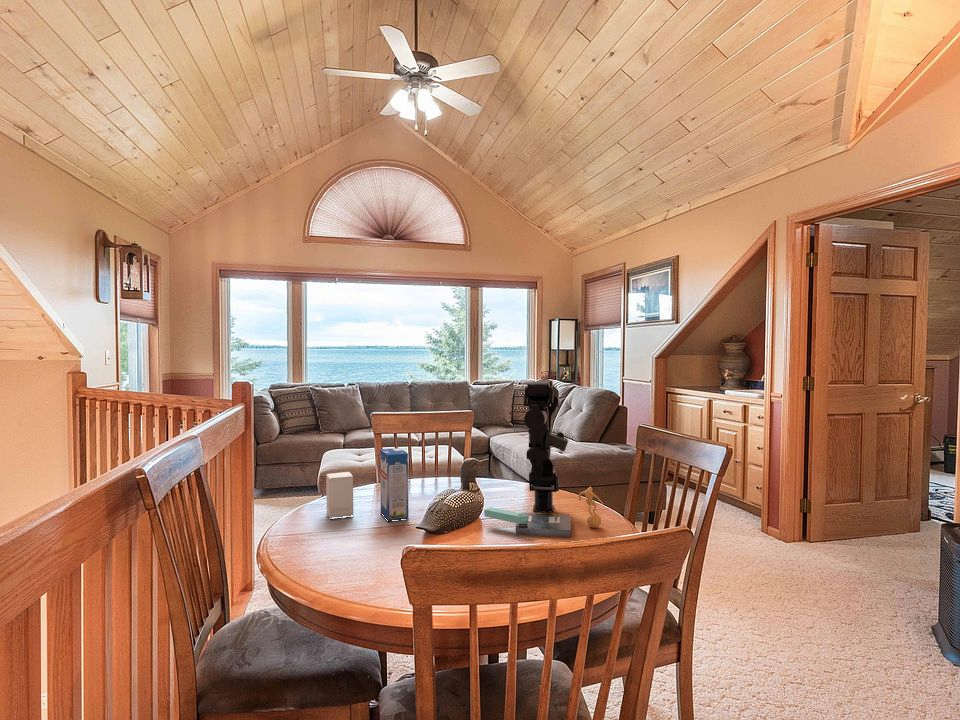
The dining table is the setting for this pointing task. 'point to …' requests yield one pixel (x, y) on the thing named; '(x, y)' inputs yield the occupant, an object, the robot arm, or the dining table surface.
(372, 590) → the dining table surface
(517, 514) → the swing bar
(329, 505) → the supplement box
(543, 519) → the server tray
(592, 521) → the figurine
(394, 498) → the milk carton
